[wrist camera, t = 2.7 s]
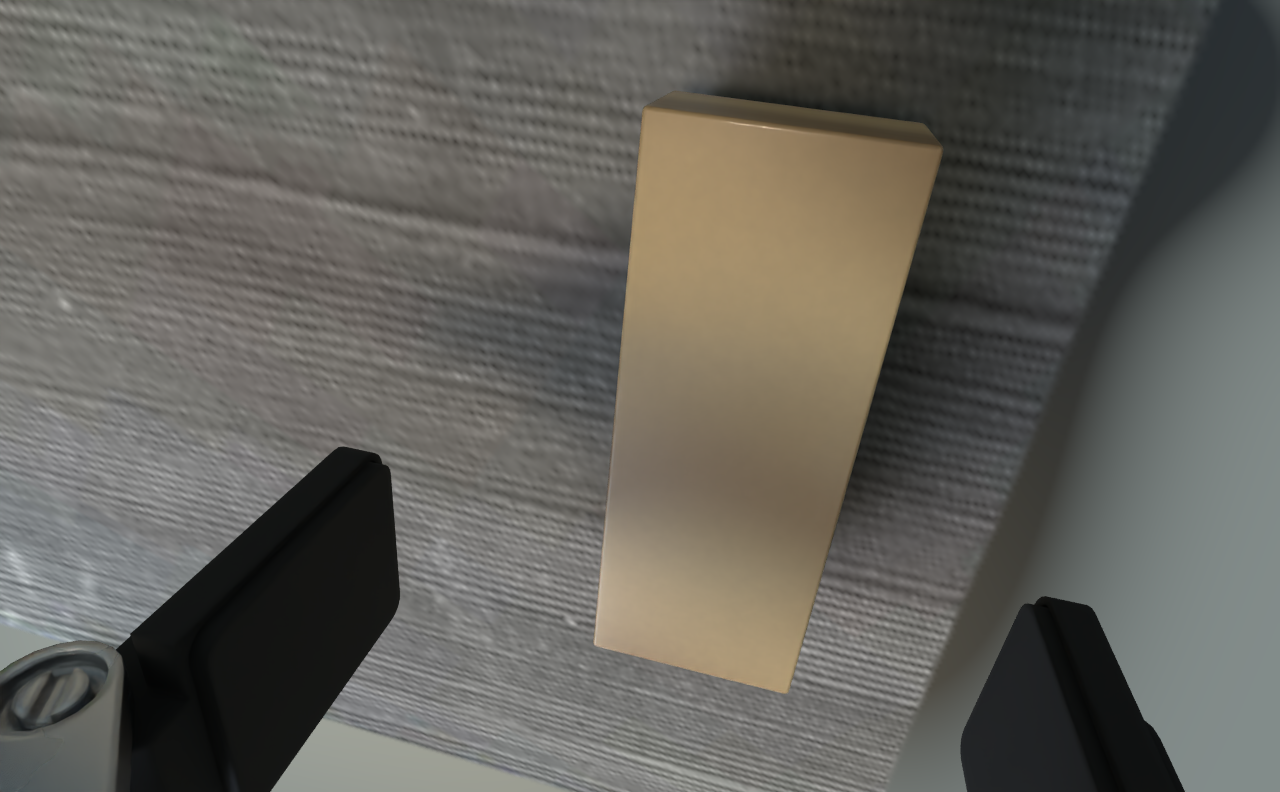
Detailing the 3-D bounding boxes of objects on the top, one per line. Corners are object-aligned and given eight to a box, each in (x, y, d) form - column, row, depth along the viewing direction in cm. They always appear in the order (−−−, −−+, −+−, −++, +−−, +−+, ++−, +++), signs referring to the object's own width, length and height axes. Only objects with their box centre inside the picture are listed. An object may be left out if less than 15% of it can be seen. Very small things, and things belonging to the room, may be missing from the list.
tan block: (685, 82, 15) (641, 105, 12) (918, 112, 14) (945, 146, 11) (631, 540, 21) (592, 647, 17) (795, 577, 20) (788, 696, 17)
